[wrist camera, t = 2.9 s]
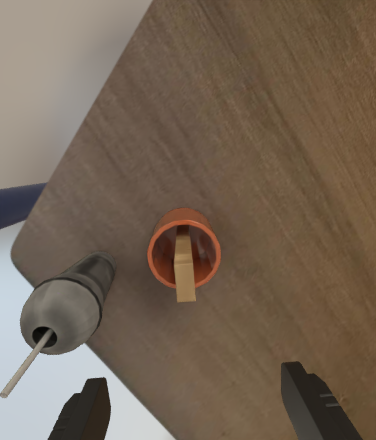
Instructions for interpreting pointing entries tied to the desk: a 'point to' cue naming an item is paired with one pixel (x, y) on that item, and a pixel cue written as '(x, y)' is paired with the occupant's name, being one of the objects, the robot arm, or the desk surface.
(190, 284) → the wooden block
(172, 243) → the utensil cup
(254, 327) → the desk surface
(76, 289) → the beverage cup
